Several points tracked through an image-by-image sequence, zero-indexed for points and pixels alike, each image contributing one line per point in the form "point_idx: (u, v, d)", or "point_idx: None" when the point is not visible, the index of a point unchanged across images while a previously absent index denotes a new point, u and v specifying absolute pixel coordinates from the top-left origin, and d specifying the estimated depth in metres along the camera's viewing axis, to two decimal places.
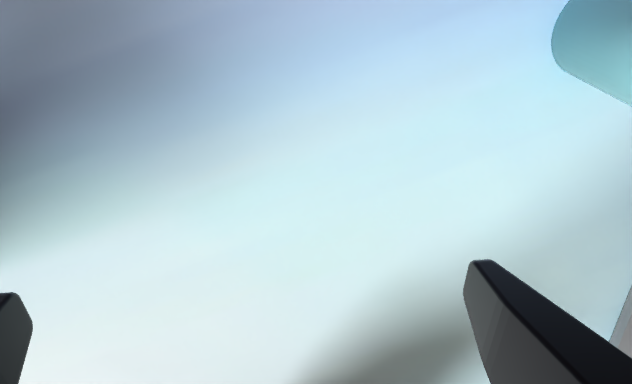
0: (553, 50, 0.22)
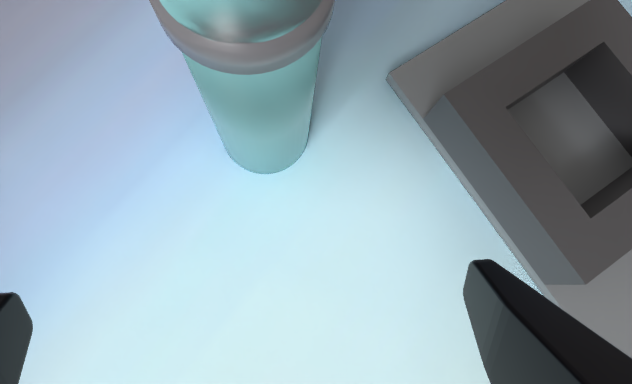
0: (238, 164, 0.23)
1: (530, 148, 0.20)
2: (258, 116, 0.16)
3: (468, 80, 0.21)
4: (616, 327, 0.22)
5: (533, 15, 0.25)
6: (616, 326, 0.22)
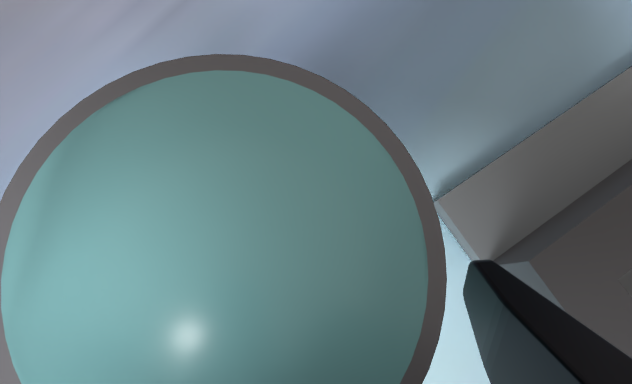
0: None
1: None
2: None
3: (563, 239, 0.14)
4: None
5: (627, 115, 0.19)
6: None
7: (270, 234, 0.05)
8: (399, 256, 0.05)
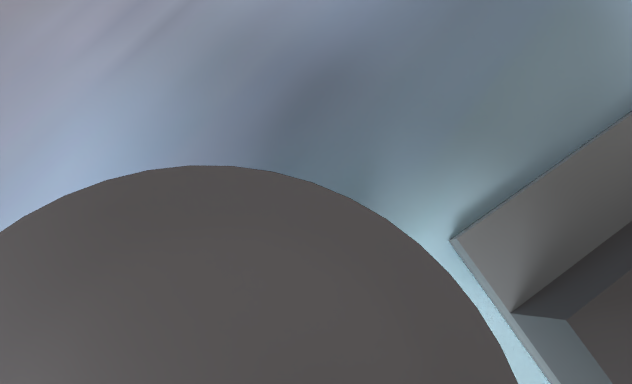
0: None
1: None
2: None
3: (605, 294, 0.13)
4: None
5: None
6: None
7: None
8: None
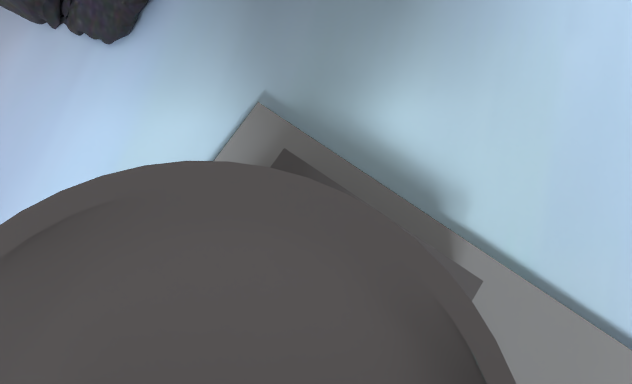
0: None
1: None
2: None
3: None
4: None
5: None
6: None
7: None
8: None
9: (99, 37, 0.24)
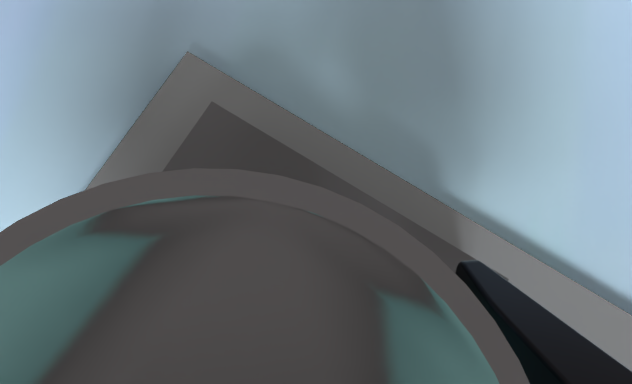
0: None
1: None
2: None
3: None
4: None
5: (170, 143, 0.17)
6: None
7: None
8: None
9: None
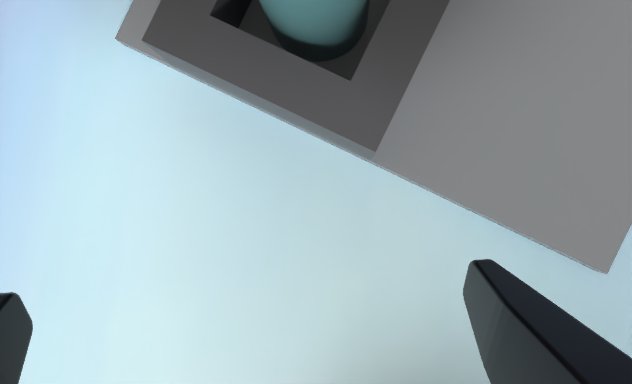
0: None
1: (256, 43, 0.18)
2: None
3: (158, 10, 0.18)
4: (462, 162, 0.20)
5: None
6: (461, 160, 0.20)
7: None
8: None
9: None
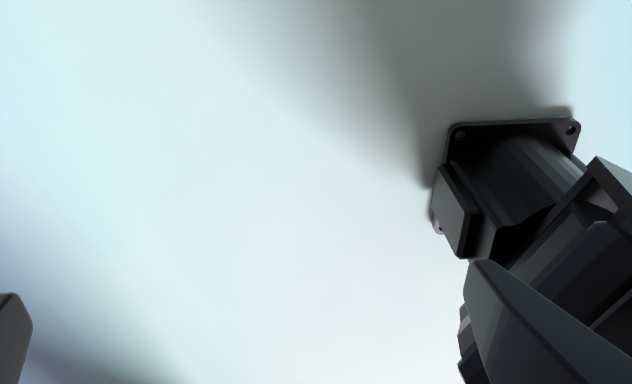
0: None
1: None
2: None
3: None
4: None
5: None
6: None
7: None
8: None
9: None
